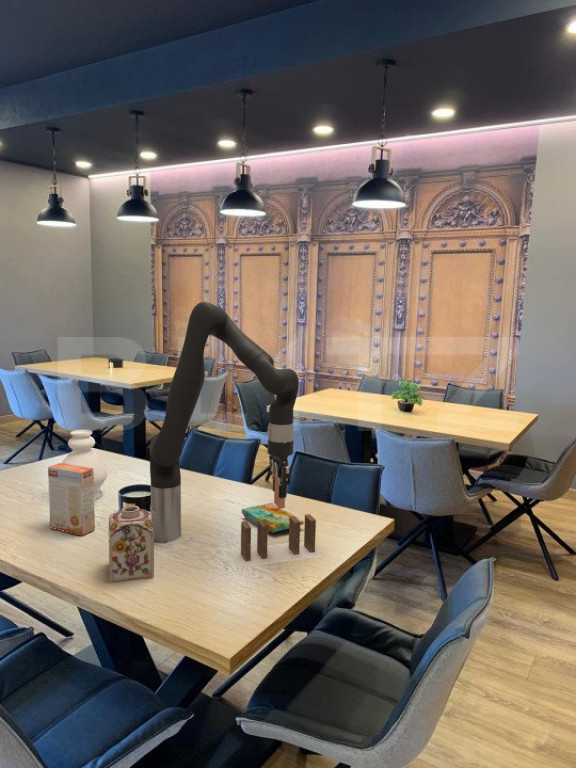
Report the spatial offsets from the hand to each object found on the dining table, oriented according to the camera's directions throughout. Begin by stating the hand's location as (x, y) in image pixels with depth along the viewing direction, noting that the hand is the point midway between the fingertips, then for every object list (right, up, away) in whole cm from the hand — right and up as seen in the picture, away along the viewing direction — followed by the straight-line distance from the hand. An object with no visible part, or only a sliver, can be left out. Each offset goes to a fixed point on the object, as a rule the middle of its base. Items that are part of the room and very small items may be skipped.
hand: (279, 494), depth 165 cm
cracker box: (-67, -15, +17) cm, 71 cm away
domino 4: (+4, -18, +4) cm, 19 cm away
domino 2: (-5, -18, +1) cm, 19 cm away
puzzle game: (-3, -16, +25) cm, 29 cm away
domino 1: (-10, -18, -1) cm, 21 cm away
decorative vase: (-75, -10, +47) cm, 89 cm away
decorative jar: (-41, -19, -9) cm, 46 cm away
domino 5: (+9, -18, +6) cm, 21 cm away
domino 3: (0, -3, +1) cm, 3 cm away
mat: (-1, -18, +2) cm, 19 cm away
